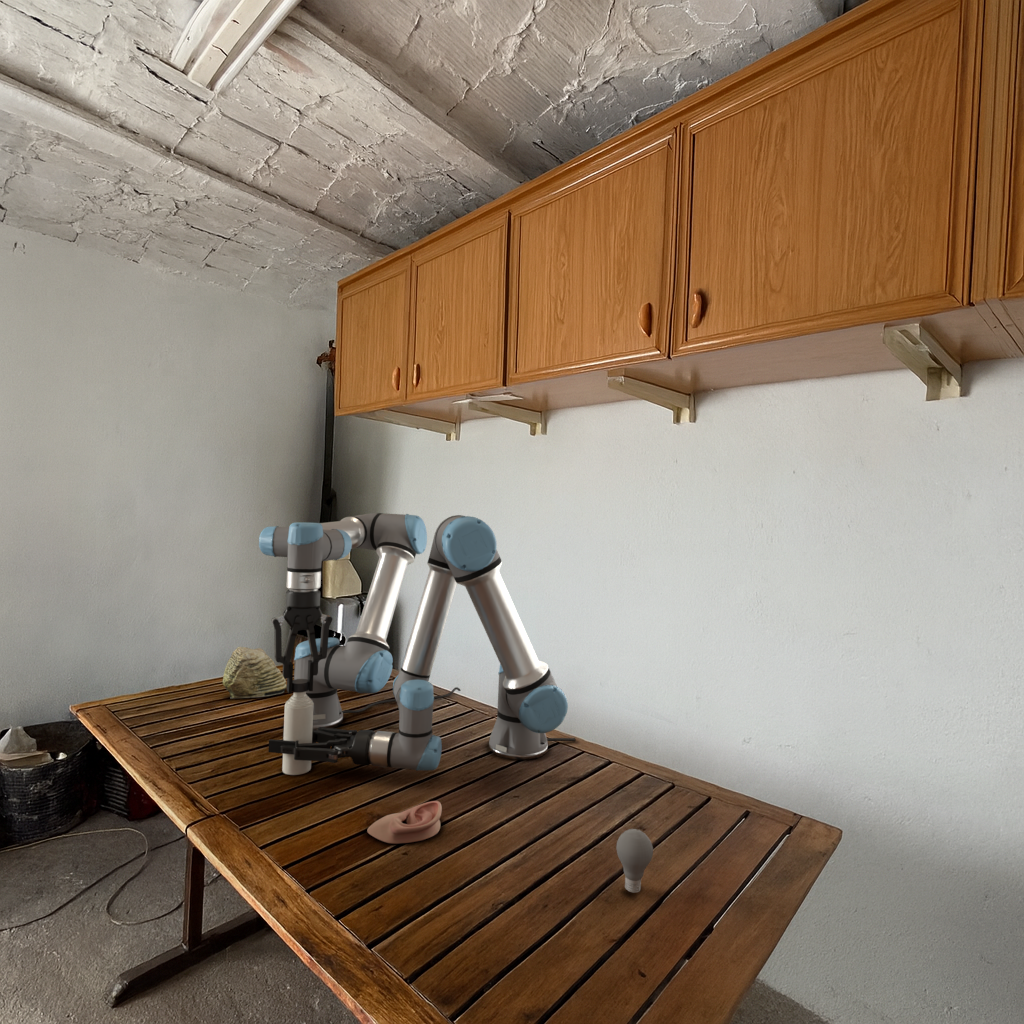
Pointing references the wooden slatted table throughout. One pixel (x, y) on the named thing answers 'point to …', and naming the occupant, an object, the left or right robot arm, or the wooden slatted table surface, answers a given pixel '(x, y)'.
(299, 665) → the left robot arm
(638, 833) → the light bulb
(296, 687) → the cap
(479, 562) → the right robot arm
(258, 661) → the fossil
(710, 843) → the wooden slatted table surface
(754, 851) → the wooden slatted table surface
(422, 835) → the anatomical model
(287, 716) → the bottle
